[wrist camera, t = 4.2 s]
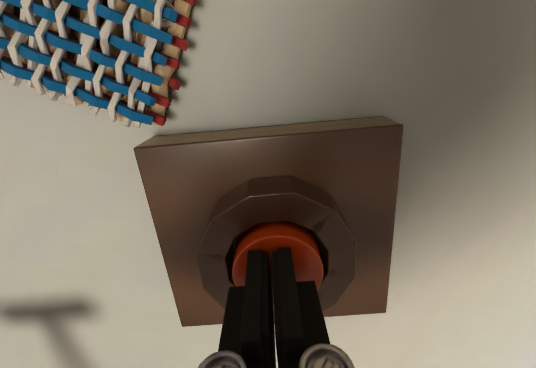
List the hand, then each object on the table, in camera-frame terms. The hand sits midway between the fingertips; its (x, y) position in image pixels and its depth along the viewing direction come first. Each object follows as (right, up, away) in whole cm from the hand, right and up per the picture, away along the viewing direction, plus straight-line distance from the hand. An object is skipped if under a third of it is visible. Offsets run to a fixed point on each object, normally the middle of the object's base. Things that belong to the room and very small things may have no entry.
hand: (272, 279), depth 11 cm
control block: (0, +2, +4) cm, 5 cm away
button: (0, +1, +2) cm, 2 cm away
